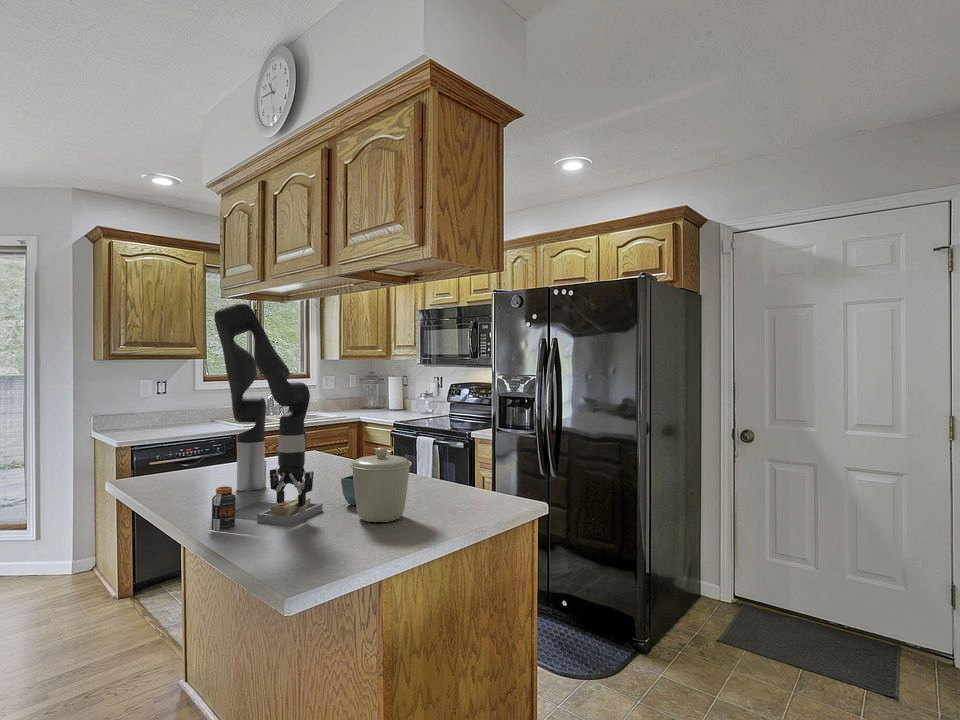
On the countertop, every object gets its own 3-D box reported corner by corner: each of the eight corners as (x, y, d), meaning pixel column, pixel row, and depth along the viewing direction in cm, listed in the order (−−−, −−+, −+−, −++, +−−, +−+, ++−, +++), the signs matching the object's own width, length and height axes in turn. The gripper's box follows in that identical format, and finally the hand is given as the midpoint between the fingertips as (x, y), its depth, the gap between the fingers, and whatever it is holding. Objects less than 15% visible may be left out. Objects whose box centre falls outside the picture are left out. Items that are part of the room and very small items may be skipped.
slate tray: (292, 509, 173) (292, 500, 173) (322, 512, 170) (322, 503, 170) (257, 523, 158) (257, 514, 158) (289, 527, 154) (289, 517, 154)
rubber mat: (259, 502, 180) (259, 501, 180) (295, 506, 176) (295, 505, 176) (217, 517, 163) (217, 515, 163) (256, 521, 159) (256, 520, 159)
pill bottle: (219, 532, 149) (220, 491, 149) (207, 529, 152) (207, 488, 152) (239, 527, 154) (240, 486, 154) (226, 523, 157) (227, 484, 157)
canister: (355, 530, 152) (356, 454, 152) (344, 513, 168) (345, 444, 168) (418, 523, 159) (419, 450, 159) (402, 508, 176) (402, 442, 176)
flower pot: (339, 505, 177) (340, 478, 177) (357, 499, 185) (358, 473, 185) (361, 509, 173) (361, 481, 173) (378, 503, 181) (379, 475, 181)
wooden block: (285, 521, 157) (285, 507, 157) (270, 520, 159) (270, 505, 159) (310, 511, 169) (310, 497, 169) (296, 509, 170) (296, 496, 170)
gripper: (263, 449, 162) (262, 506, 162) (304, 452, 158) (304, 510, 158) (279, 446, 169) (278, 500, 169) (319, 448, 165) (319, 504, 165)
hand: (291, 505), depth 164 cm, fingers open, 6 cm apart
